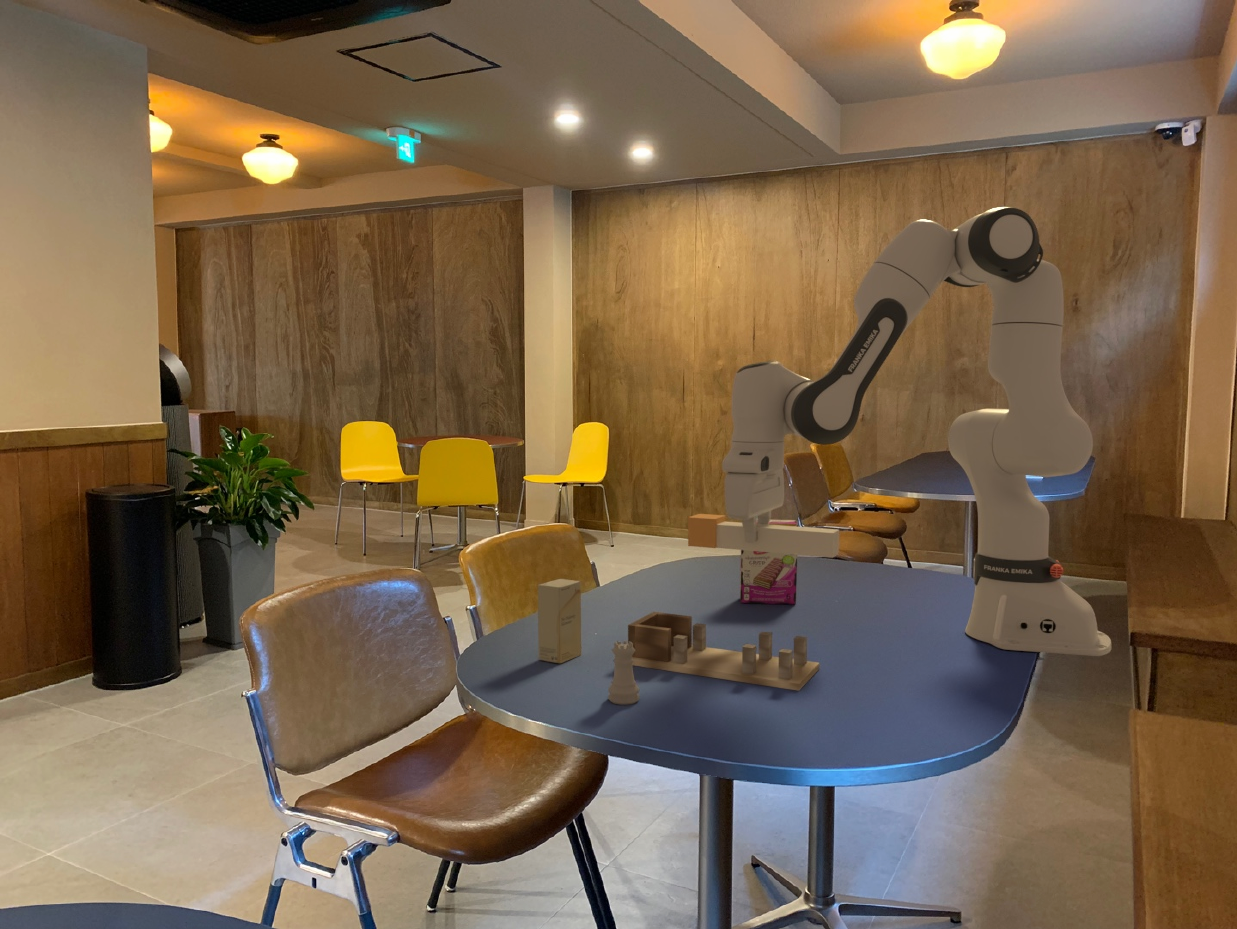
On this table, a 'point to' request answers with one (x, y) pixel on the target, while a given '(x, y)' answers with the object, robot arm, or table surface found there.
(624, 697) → the rook chess piece
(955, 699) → the table surface
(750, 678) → the rail
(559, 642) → the skincare box
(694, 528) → the orange tipped beige bar
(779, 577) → the candy bar box
